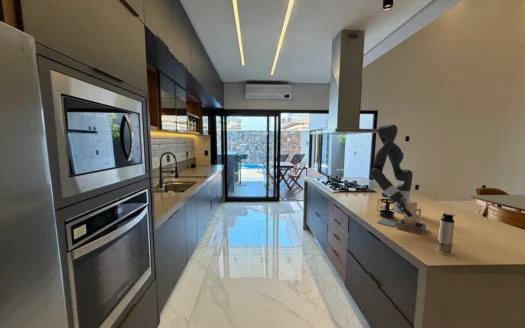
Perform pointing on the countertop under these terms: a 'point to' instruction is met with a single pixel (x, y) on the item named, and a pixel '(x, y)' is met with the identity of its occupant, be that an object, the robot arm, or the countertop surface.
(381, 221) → the mat
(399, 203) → the robot arm
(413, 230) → the wooden tray
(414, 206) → the jug
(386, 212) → the french press
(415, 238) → the countertop surface
